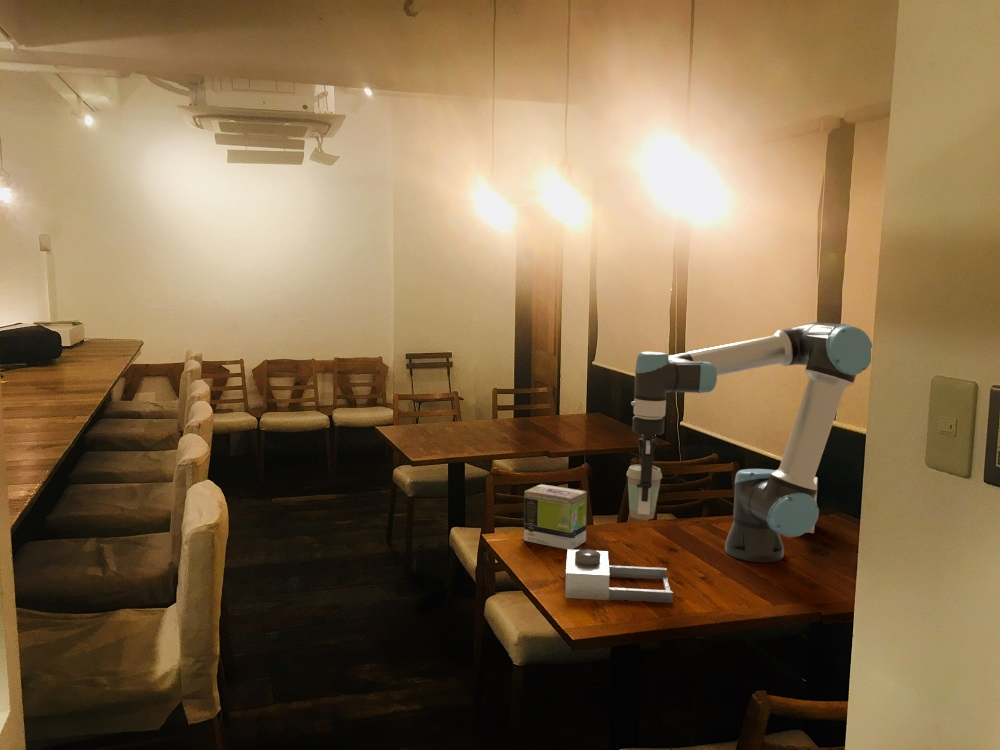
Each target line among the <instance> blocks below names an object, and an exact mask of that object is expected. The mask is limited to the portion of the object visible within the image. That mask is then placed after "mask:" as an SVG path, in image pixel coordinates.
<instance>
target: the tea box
mask: <svg viewBox="0 0 1000 750" xmlns="http://www.w3.org/2000/svg"><path fill="white" fill-rule="evenodd" d="M523 496H524V497H523V498H524V504H523V505H524V507H523V509H524V510H523V515H524V516H523V540H524V541H525V542H530V543H534V544H539V545H543V546H548V547H553V548H558V549H562V550H568V549H570V550H575V548H577V547H579V546H581V545H582V544H583V543H586V540H587V506H588V505H587V502H588V497H587V496H588V491H586V490H582V489H581V490H580V489H576V488H570V487H562V486H555V485H549V484H548V485H547V484H543V483H541V484H538V485H536V486H533V487H531V488H529V489H526V490H524V495H523Z"/></svg>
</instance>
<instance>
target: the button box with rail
mask: <svg viewBox="0 0 1000 750" xmlns="http://www.w3.org/2000/svg"><path fill="white" fill-rule="evenodd" d="M566 553H567V554H566V567H565V568H566V569H565V589H564V590H565V593H564V594H565V596H564V597H565V599H579V600H580V599H581V600H597V601H600V600H601V601H610V600H611V601H624V600H628V601H629V602H642V601H645V603H646V602H647V603H661V604H663V603H665V604H673V601H674V600H673V597H674V592H673V590H671V587H670V584H669V581H668V577H667V575H668V574H667V572H668V571H667V570H668V569H667V567H666V568H665V567H651V566H650V567H649V566H648V567H647V566H628V565H611V564H609V562H610V561H609V551H608V550H594V549H588V548H587V549H585V548H584V549H572V550H570V549H568V550H567V552H566ZM610 578H624V579H626V578H629V579H645V580H647V579H648V580H662V584H663V588H664V589H648V588H646V589H645V588H630V587H628V588H627V587H610ZM628 601H627V602H628Z"/></svg>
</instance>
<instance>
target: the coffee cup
mask: <svg viewBox="0 0 1000 750" xmlns="http://www.w3.org/2000/svg"><path fill="white" fill-rule="evenodd" d="M626 477H627V490H628V491H627V493H628V508H629V509H628V510H629V516H630V517H631V518H633V519H637V520H642V521H643V520H645V521H646V520H652V519H654V517H655V512H656V507H657V502H658V501H657V500H658V496H659V490H660V486H661V485H660V484H661V480H662V479H663V474H662V471H661V468H660V467H658V466H655V465H652V480H651V484H652V486H651V495H650V511H649V515H648V514H638V500H639V487H637V484H639V485H640V479H641V465H640V464H632V465H630V466H629V467H628V470H627V471H626ZM644 482H645V481H644Z"/></svg>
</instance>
